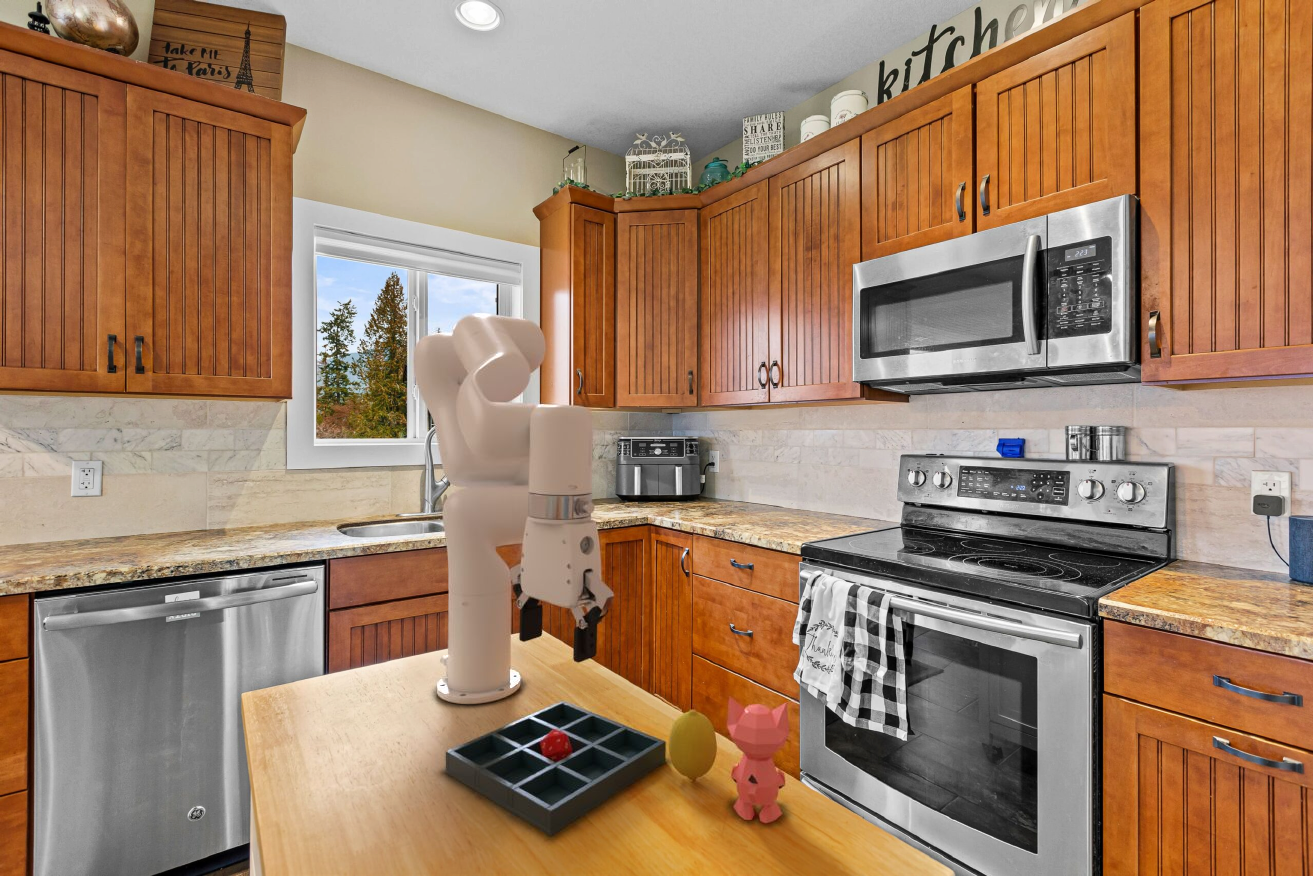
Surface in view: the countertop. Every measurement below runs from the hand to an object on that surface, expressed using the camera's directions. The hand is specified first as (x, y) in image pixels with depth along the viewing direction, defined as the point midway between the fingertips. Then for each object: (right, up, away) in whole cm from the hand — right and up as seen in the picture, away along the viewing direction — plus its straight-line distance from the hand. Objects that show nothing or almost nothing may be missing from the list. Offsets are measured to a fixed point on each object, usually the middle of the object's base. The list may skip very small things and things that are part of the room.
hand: (556, 648), depth 74 cm
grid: (0, -14, -1) cm, 14 cm away
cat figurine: (+23, -14, -10) cm, 28 cm away
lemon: (+16, -14, -4) cm, 22 cm away
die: (0, -13, -1) cm, 13 cm away
